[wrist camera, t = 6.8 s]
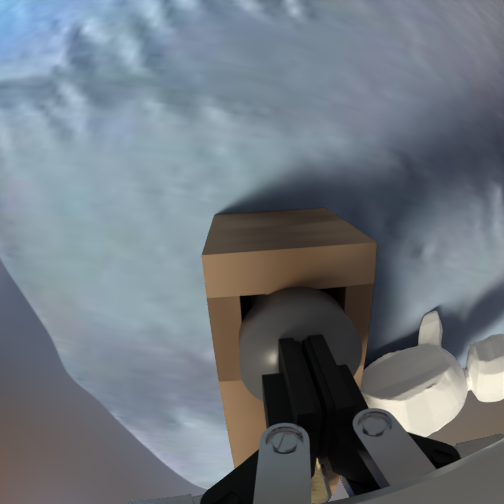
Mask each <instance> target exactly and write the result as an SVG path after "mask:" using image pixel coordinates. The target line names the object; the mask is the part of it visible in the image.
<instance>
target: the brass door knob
mask: <svg viewBox="0 0 504 504" xmlns="http://www.w3.org/2000/svg"><path fill="white" fill-rule="evenodd" d="M266 429H267V428H266V426H265V430H266ZM327 500H328V493H327V490H326V486H325V482H324V478H323V474H322V470H321V466H320V464H319V463H318V459H317V460H316V467H315V473H314V476H313V477H312V478H311V503H312V504H320V503H325V502H326V501H327Z"/></svg>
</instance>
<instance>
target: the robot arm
mask: <svg viewBox="0 0 504 504" xmlns="http://www.w3.org/2000/svg"><path fill="white" fill-rule="evenodd" d="M278 358H279V373H274V374H264V375H262V393H263V404H264V412H265V420H266V428H267V429H266V430H265V431H264V432H263V434H262V435H261V438H260V445H259V449H258V450H257V451H256V452H255V453H253V454H252V455H251V456H250V457H249V458H247V459H246V460H245V461H244V462H243V463H241V464H240V465H239V466H238V467H237V468H235V469H234V470H233V471H232V472H230V473H229V474H228V475H227V476H225V477H224V478H223V479H222V480H220V481H219V482H218V483H216V484H215V485H214V486H212V487H211V488H210V489H208V490H207V491H206V492H205V494H203V495H199V496H192V495H191V494H188V495H182V496H175V497H167V498H158V499H149V500H136V501H130V502H127V503H125V504H312V503H311V478H312V477H313V476H314V473H315V467H316V460H317V459H318V463H319V464H320V465H321V464H324V465H325V469H326V471H331V470H332V471H333V472H334V473H336V474H338V475H340V479H341V482H342V484H343V486H344V488H345V490H346V492H347V494H348V496H349V498H345V499H340V500H335V501H330V502H325V503H320V504H504V434H495V435H491V436H487V437H483V438H479V439H475V440H470V441H466V442H461V443H457V444H456V446H454V447H453V446H451V445H448V444H446V443H443V442H439V441H436V440H432V439H429V438H426V437H423V436H419V435H416V434H413V433H410V432H407V431H406V430H405V429H404V428H403V427H402V425H401V424H400V423H399V422H398V420H397V419H396V418H395V417H394V416H393V415H392V414H391V413H390V412H388V411H386V410H384V409H379V408H370V409H369V407H368V405H367V403H366V401H365V399H364V397H363V395H362V393H361V391H360V389H359V387H358V385H357V383H356V381H355V379H354V377H353V375H352V373H351V371H350V369H349V367H348V366H347V365H346V364H343V365H337V364H336V362H335V360H334V358H333V355H332V353H331V351H330V349H329V347H328V345H327V343H326V341H325V338H324V336H323V335H322V334H320V335H312V336H308V337H307V340H303V341H302V348H301V345H300V343H299V341H294V339H293V338H285V339H278Z"/></svg>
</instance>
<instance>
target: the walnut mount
mask: <svg viewBox="0 0 504 504" xmlns="http://www.w3.org/2000/svg"><path fill="white" fill-rule="evenodd" d="M376 252H377V242H376V241H374V240H373V239H371V238H370V237H369V236H367V235H366V234H364V233H363V232H361V231H360V230H358V229H357V228H355V227H354V226H352V225H351V224H349V223H348V222H346V221H345V220H343V219H341V218H340V217H338V216H337V215H335V214H334V213H332V212H331V211H329V210H328V209H326V208H315V209H296V210H279V211H263V212H249V213H235V214H222V215H214V217H213V221H212V224H211V227H210V230H209V233H208V236H207V240H206V243H205V246H204V249H203V253H202V262H203V271H204V279H205V287H206V295H207V303H208V311H209V318H210V325H211V332H212V339H213V346H214V353H215V359H216V366H217V372H218V379H219V385H220V391H221V397H222V403H223V408H224V414H225V420H226V425H227V431H228V436H229V442H230V447H231V452H232V457H233V462H234V467H235V468H237V467H238V466H239V465H240V464H241V463H243V462H244V461H245V460H246V459H247V458H249V457H250V456H251V455H252V454H253V453H255V452H256V451H257V450H258V449H259V445H260V438H261V435H262V434H263V432H264V431H265V426H266V420H265V412H264V404H263V402H262V401H260V400H259V399H257V398H256V397H254V396H253V395H252V394H251V393H250V392H249V391H248V389H247V388H246V387H245V385H244V383H243V381H242V378H241V375H240V365H239V330H240V326H241V323H242V321H243V319H244V317H245V316H246V314H247V312H248V311H249V310H250V309H251V303H248V304H242V296H245V295H258V294H270V293H273V292H275V291H278V290H281V289H285V288H290V287H310V288H315V289H318V290H321V291H323V292H325V293H327V294H329V295H330V296H332V297H333V298H334V299H335V300H336V301H337V302H338V303H339V304H340V306H341V307H342V309H343V310H344V312H345V313H346V315H347V316H348V318H349V319H350V321H351V322H352V324H353V326H354V327H355V329H356V330H357V332H358V334H359V336H360V338H361V342H362V359H361V363H360V365H359V368H358V370H357V372H356V374H355V375H354V379H355V381H356V383H357V385H358V387H359V389H360V386H361V380H362V374H363V368H364V362H365V356H366V349H367V342H368V335H369V327H370V319H371V311H372V301H373V291H374V280H375V267H376ZM321 465H322V466H323V467H324V468H325V465H324V464H321ZM325 470H326V469H325ZM326 474H327V478H328V481H329V485H330V489H331V493H332V495H334V493H335V490H336V487H337V483H338V480H339V476H340V475H338V474H336V473H334V472H333V471H332V470H331V471H326Z"/></svg>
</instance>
